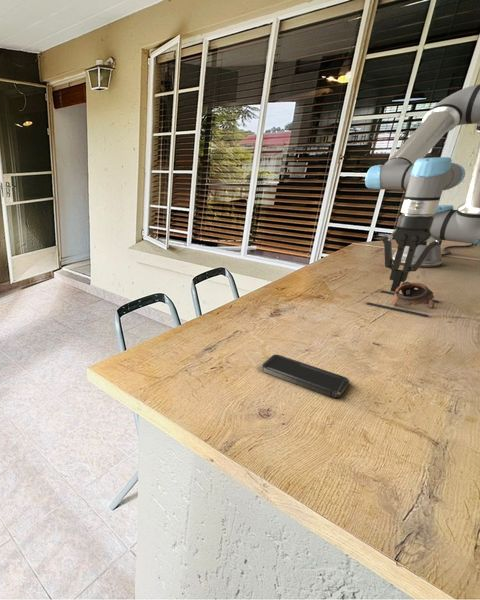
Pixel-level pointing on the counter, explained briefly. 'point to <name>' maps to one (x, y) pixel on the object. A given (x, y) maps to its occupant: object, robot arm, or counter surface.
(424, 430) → the counter surface
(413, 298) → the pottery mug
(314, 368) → the phone
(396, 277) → the robot arm
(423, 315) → the bay strips
